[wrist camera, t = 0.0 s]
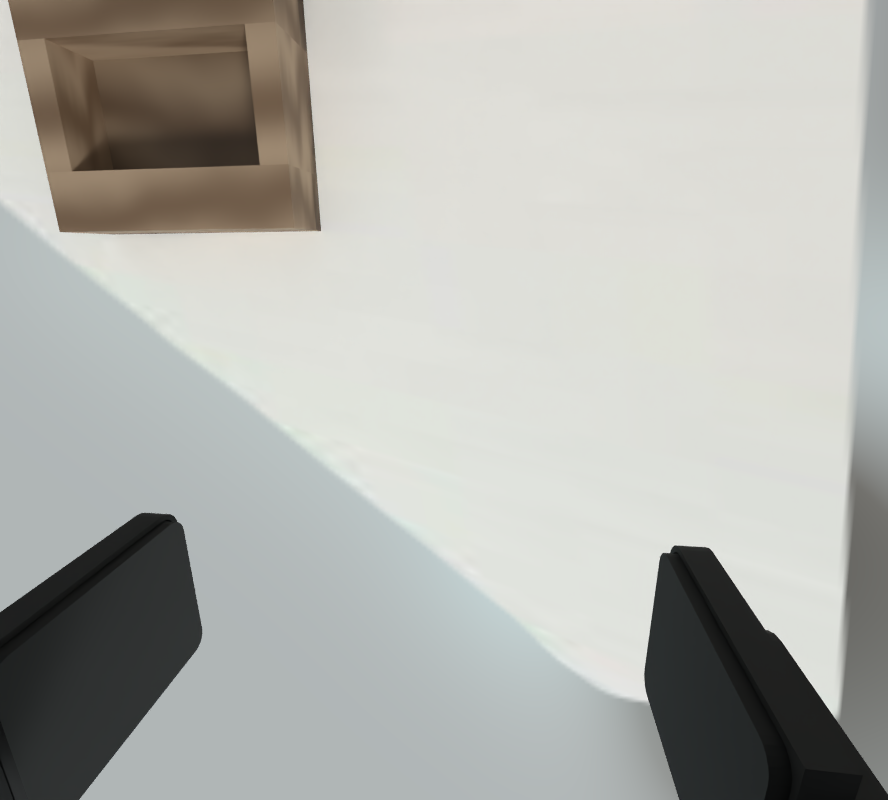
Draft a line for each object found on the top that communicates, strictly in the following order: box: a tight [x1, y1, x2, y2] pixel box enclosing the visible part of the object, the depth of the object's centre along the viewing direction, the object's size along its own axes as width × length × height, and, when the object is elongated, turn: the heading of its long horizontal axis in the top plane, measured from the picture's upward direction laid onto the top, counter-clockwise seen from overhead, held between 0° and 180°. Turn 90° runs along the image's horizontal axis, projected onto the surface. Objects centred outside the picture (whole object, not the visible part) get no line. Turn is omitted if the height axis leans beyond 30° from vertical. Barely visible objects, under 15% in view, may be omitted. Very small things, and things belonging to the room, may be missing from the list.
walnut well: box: [8, 0, 321, 234], centre depth 35 cm, size 16×18×5 cm
